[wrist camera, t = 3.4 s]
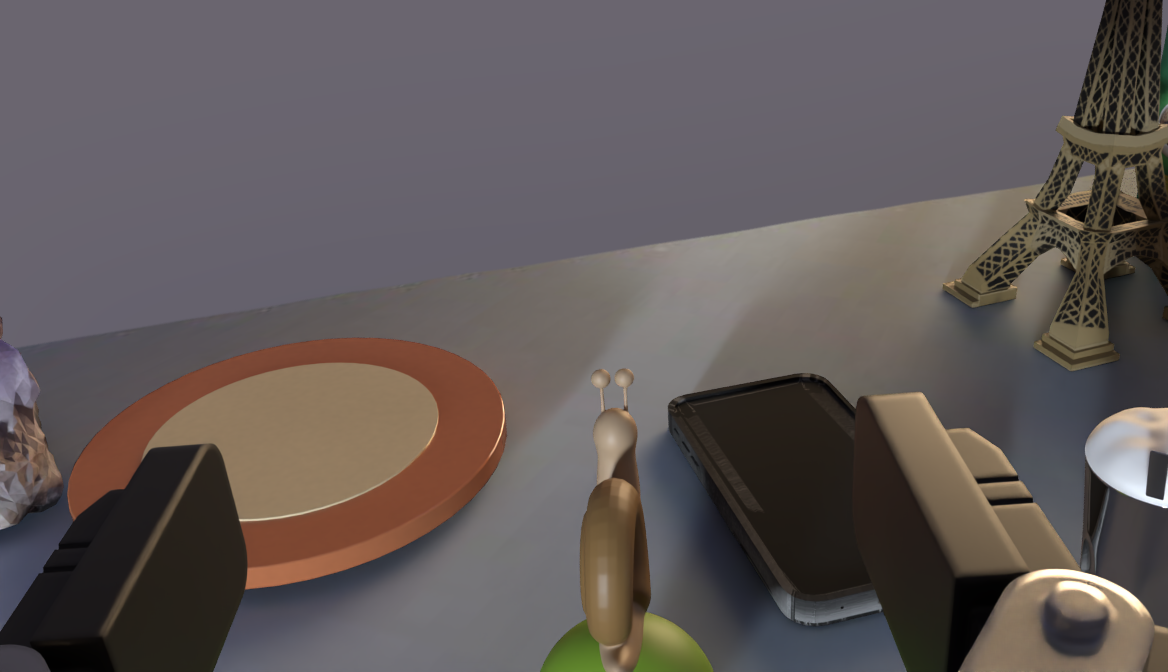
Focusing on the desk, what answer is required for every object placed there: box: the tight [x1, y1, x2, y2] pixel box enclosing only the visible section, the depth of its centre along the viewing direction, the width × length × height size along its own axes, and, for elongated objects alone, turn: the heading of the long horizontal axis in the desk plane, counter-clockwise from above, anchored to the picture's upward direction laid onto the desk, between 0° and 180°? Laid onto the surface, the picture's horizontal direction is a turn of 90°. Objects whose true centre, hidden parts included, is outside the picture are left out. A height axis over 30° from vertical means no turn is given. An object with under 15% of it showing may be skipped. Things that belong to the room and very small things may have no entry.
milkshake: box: [1080, 407, 1168, 628], centre depth 33 cm, size 4×5×10 cm
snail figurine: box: [540, 369, 714, 672], centre depth 31 cm, size 5×6×12 cm
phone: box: [668, 373, 883, 626], centre depth 45 cm, size 8×1×15 cm
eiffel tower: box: [943, 0, 1168, 371], centre depth 53 cm, size 11×11×25 cm
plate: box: [67, 338, 507, 589], centre depth 49 cm, size 19×19×2 cm
